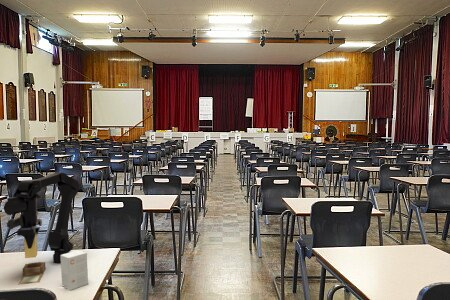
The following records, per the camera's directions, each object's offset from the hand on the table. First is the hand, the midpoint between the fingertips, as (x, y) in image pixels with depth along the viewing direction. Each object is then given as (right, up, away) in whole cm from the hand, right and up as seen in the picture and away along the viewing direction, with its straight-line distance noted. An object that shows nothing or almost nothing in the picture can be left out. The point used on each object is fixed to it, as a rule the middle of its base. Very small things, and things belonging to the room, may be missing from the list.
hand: (30, 247), depth 173 cm
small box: (+22, -14, -9) cm, 27 cm away
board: (+1, -13, 0) cm, 13 cm away
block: (0, -4, 0) cm, 4 cm away
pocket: (0, -13, +4) cm, 13 cm away
